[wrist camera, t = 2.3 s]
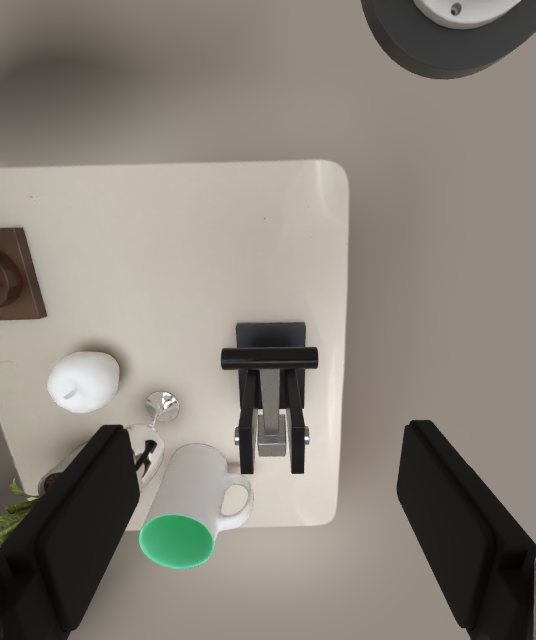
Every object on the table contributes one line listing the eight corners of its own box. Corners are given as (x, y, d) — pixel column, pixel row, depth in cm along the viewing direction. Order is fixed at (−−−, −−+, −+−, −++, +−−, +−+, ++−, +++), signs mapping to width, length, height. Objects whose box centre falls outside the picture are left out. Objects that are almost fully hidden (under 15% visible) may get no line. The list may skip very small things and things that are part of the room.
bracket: (237, 323, 35) (214, 388, 21) (304, 322, 35) (327, 387, 21) (241, 404, 39) (224, 506, 25) (303, 403, 38) (321, 505, 24)
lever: (223, 335, 17) (218, 371, 15) (315, 334, 17) (320, 370, 15) (242, 428, 26) (241, 456, 25) (301, 427, 26) (303, 456, 25)
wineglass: (147, 380, 38) (94, 447, 26) (190, 396, 38) (156, 469, 27) (135, 416, 39) (79, 494, 28) (176, 430, 40) (139, 513, 29)
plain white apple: (142, 372, 37) (109, 410, 30) (102, 400, 39) (61, 444, 31) (102, 329, 36) (57, 357, 28) (62, 361, 37) (8, 396, 29)
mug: (250, 436, 40) (243, 506, 30) (259, 483, 43) (256, 561, 33) (163, 447, 41) (129, 518, 31) (178, 492, 43) (150, 572, 33)
